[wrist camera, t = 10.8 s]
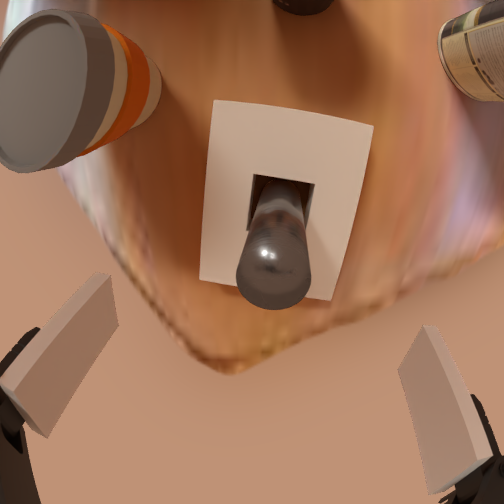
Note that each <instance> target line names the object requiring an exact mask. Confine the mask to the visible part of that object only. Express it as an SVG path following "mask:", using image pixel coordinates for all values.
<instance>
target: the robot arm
mask: <svg viewBox="0 0 504 504" xmlns="http://www.w3.org/2000/svg"><path fill="white" fill-rule="evenodd" d="M118 326H119V325H118V320H117V314H116V308H115V302H114V296H113V289H112V282H111V275H107V274H103V273H99V272H95V273H94V274H93V275H92V276H91V277H90V278H89V279H88V280H87V281H86V282H85V283H84V284H83V285H82V286H81V287H80V288H79V289H78V290H77V291H76V292H75V293H74V294H73V295H72V296H71V297H70V298H69V299H68V301H66V303H65V304H64V305H63V306H62V307H61V308H60V309H59V310H58V311H57V312H56V313H55V314H54V315H53V317H51V319H50V320H49V321H48V322H47V323H46V324H45V325H44V326H43V327H42V329H40V328H38V327H35V328H34V329H32V330H30V331H29V332H27V333H26V334H25V335H24V336H23V337H22V338H21V339H20V340H19V341H18V344H16V345H15V346H14V347H13V348H12V351H10V352H9V353H8V354H7V355H6V356H5V358H4V359H3V360H2V361H1V362H0V504H41V502H40V498H39V495H38V491H37V488H36V485H35V480H34V476H33V472H32V468H31V463H30V459H29V454H28V448H27V443H26V437H25V431H24V428H23V426H22V425H23V424H24V422H25V421H26V423H27V424H28V425H29V427H30V428H31V429H32V430H34V431H35V432H37V433H39V434H40V435H42V436H44V437H45V438H48V437H49V435H50V433H51V431H52V429H53V428H54V426H55V425H56V423H57V421H58V419H59V418H60V416H61V414H62V413H63V411H64V409H65V408H66V406H67V404H68V403H69V401H70V399H71V398H72V396H73V394H74V393H75V391H76V389H77V388H78V386H79V385H80V383H81V382H82V380H83V379H84V377H85V375H86V374H87V372H88V371H89V369H90V368H91V366H92V364H93V363H94V361H95V360H96V358H97V357H98V355H99V354H100V352H101V351H102V349H103V348H104V346H105V345H106V343H107V342H108V340H109V339H110V338H111V336H112V335H113V333H114V332H115V330H116V329H117V327H118ZM398 372H399V376H400V379H401V382H402V385H403V389H404V392H405V396H406V399H407V403H408V406H409V410H410V414H411V417H412V421H413V425H414V429H415V433H416V437H417V441H418V445H419V450H420V454H421V459H422V463H423V468H424V473H425V479H426V484H427V489H428V495H431V494H436V493H440V492H444V491H446V490H447V489H449V488H450V487H452V486H453V485H455V488H456V490H454V491H453V492H451V493H450V494H448V495H447V496H445V497H443V498H442V499H441V500H440V501H439V503H442V502H444V501H445V500H447V499H448V501H447V502H446V503H445V504H504V456H502V455H501V453H500V451H499V448H498V445H497V442H496V439H495V437H494V434H493V431H492V429H491V426H490V424H488V422H489V421H488V419H487V416H485V411H484V409H483V406H482V404H481V402H480V401H479V400H478V399H477V398H476V396H475V395H474V394H470V393H469V391H468V389H467V387H466V384H465V382H464V380H463V378H462V376H461V374H460V372H459V369H458V367H457V365H456V363H455V361H454V359H453V357H452V355H451V353H450V351H449V349H448V347H447V345H446V343H445V341H444V339H443V338H442V336H441V334H440V332H439V330H438V328H437V326H430V325H422V327H421V329H420V331H419V333H418V335H417V337H416V339H415V340H414V342H413V344H412V346H411V348H410V350H409V351H408V353H407V355H406V356H405V358H404V360H403V362H402V363H401V365H400V367H399V368H398Z"/></svg>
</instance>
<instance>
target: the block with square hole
mask: <svg viewBox="0 0 504 504" xmlns="http://www.w3.org/2000/svg"><path fill="white" fill-rule="evenodd" d="M373 128H374V126H372V125H368V124H364V123H360V122H356V121H352V120H347V119H343V118H338V117H334V116H329V115H324V114H319V113H314V112H308V111H303V110H297V109H291V108H284V107H278V106H271V105H263V104H255V103H246V102H236V101H224V100H214V102H213V110H212V119H211V128H210V138H209V148H208V158H207V169H206V180H205V193H204V206H203V220H202V236H201V254H200V275H199V280H204V281H209V282H215V283H221V284H226V285H232V286H237V283H236V270H237V267H238V263H239V260H240V257H241V254H242V251H243V248H244V245H245V242H246V239H247V235H248V232H249V229H250V226H251V223H252V220H253V219H250V218H251V210H252V203H253V195H254V187H255V180H256V174H258V175H265V176H272V177H278V178H284V179H290V180H296V181H302V182H307V183H311V185H310V190H309V195H308V201H307V206H306V211H305V216H304V225H305V232H306V239H307V246H308V254H309V262H310V269H311V285H310V288H309V290H308V292H307V294H306V295H305V297H307V298H314V299H320V300H327V301H331V299H332V296H333V293H334V289H335V286H336V283H337V280H338V276H339V273H340V269H341V266H342V263H343V259H344V256H345V252H346V248H347V245H348V241H349V237H350V233H351V230H352V226H353V222H354V218H355V214H356V210H357V205H358V201H359V197H360V193H361V188H362V184H363V179H364V175H365V170H366V165H367V160H368V155H369V150H370V145H371V140H372V134H373Z"/></svg>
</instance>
